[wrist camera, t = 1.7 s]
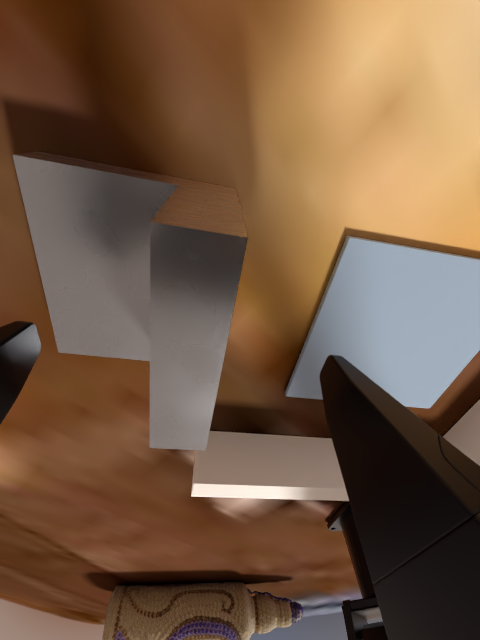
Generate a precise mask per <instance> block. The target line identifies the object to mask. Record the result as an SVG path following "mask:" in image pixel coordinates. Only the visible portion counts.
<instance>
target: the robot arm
mask: <svg viewBox="0 0 480 640" xmlns="http://www.w3.org/2000/svg"><path fill="white" fill-rule="evenodd" d="M40 350H41V343H40V339H39V336H38V332H37V328H36V326H35V324H34V323H32V322H24V321H15V322H13V323H10V324H7V325H5V326H2V327H0V424H1V423H2V421H3V419H4V418H5V416H6V415H7V413H8V412H9V410H10V409H11V407H12V405H13V404H14V402H15V401H16V399H17V397H18V395H19V393H20V392H21V390H22V388H23V386H24V384H25V382H26V380H27V378H28V376H29V374H30V372H31V369H32V367H33V365H34V363H35V361H36V359H37V357H38V355H39V353H40ZM320 385H321V391H322V397H323V403H324V409H325V414H326V420H327V424H328V427H329V431H330V435H331V438H332V442H333V445H334V449H335V452H336V456H337V459H338V463H339V466H340V470H341V474H342V477H343V481H344V484H345V488H346V491H347V495H348V498H349V501H346V503H345V504H344V505H343V506H342V507H341V509H340V510H339V511H338V512H337V513H336V515H335V516H334V517H333V518H332V519H331V521H330V522H329V523H328V524H327V526H328V530H330V531H343V534H344V537H345V540H346V544H347V547H348V551H349V554H350V557H351V561H352V564H353V567H354V571H355V574H356V577H357V581H358V584H359V587H360V591H361V594H362V597H363V599H358V600H353V601H350V600H345V601H343V606H342V610H343V614H344V619H345V625H346V630H347V636H348V640H480V466H479V465H478V464H477V463H475V462H474V461H473V460H471V459H470V458H469V457H467V456H466V455H465V454H464V453H462V452H461V451H460V450H459V449H457V448H456V447H455V446H453V445H452V444H451V443H450V442H448V441H447V440H446V439H445V438H443V437H442V436H441V435H439V434H437V432H436V431H435V430H433V429H432V428H431V427H430V426H428V425H427V424H426V423H425V422H423V421H422V420H421V419H420V418H418V417H417V416H416V415H415V414H413V413H412V412H411V411H410V410H408V409H407V408H406V407H405V406H404V405H402V404H401V403H400V402H399V401H397V400H396V399H395V398H394V397H392V396H391V395H390V394H389V393H387V392H386V391H385V390H384V389H382V388H381V387H380V386H379V385H377V384H376V383H375V382H374V381H372V380H371V379H370V378H369V377H367V376H366V375H365V374H364V373H362V372H361V371H360V370H359V369H357V368H356V367H355V366H354V365H352V364H351V363H350V362H349V361H347V360H346V359H345V358H344V357H342V356H339V355H329V356H328V357H327V359H326V361H325V363H324V365H323V367H322V369H321V372H320ZM376 618H382V619H383V622H377V623H372V624H368V622H367V620H370V619H376Z"/></svg>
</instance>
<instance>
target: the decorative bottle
mask: <svg viewBox="0 0 480 640" xmlns="http://www.w3.org/2000/svg"><path fill="white" fill-rule="evenodd" d="M249 593H250V594H252V592H251V591H250V590H249V589H247V588H246V586H245V584H244V583H242V582H224V583H217V582H216V583H197V584H168V585H167V584H166V585H150V586H143V585H135V586H133V585H131V586H126V585H118V586H117V587H116V588H115V589H114V591H113V593H112V596H111V599H110V603H109V606H108V610H107V614H106V620H105V626H104V633H103V640H249V638H250V637H251V635H252V634H253V633H254V632H255V633H258V634H260V633H268V632H269V631H272V630H273V629H274V628H276V627H288V626H290V625H291V623H296V622H298V621H299V620H300V619H301V618H302V615H303V608H302V606H301V604H299V603H297V602H295V601H294V602H291V600H289V599H287V598H281V597H280V598H277V597H275V596H272V595H271V594H270V593H268V592H264V593H261V592H257V591H254V592H253V593H255V596H253V597H251V596H250V595H249ZM290 602H291V603H290Z"/></svg>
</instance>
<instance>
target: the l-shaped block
mask: <svg viewBox="0 0 480 640" xmlns="http://www.w3.org/2000/svg"><path fill="white" fill-rule="evenodd" d="M443 438H445V439H446V440H447V441H448V442H450V443H451V444H452V445H453V446H455V447H456V448H457V449H459V450H460V451H461V452H462V453H464V454H465V455H466V456H467V457H469V458H470V459H471V460H473V461H474V462H475V463H477V464H478V465H479V466H480V399H479V400H478V401H477V402H476V403H475V404H474V405H473V406H472V407H471V408H470V410H469V411H468V412H467V413H466V414H465V415H464V416H463V417H462V418H461V419H460V420H459V421H458V422H457V423H456V424H455V425H454V426H453V427H452V428H451V429H450V430H449V431H448V432H447V433H446V434H445V435H444V436H443ZM191 497H227V498H262V499H297V500H333V501H349V498H348V495H347V491H346V488H345V484H344V481H343V477H342V474H341V470H340V466H339V463H338V459H337V456H336V452H335V449H334V445H333V442H332V438H316V437H300V436H284V435H268V434H252V433H236V432H220V431H209V436H208V441H207V446H206V451H203V450H195V458H194V470H193V481H192V493H191Z"/></svg>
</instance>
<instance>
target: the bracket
mask: <svg viewBox="0 0 480 640" xmlns="http://www.w3.org/2000/svg"><path fill="white" fill-rule="evenodd" d="M13 159H14V163H15V168H16V172H17V176H18V181H19V185H20V189H21V193H22V198H23V202H24V206H25V211H26V215H27V219H28V223H29V228H30V232H31V236H32V241H33V245H34V249H35V253H36V258H37V262H38V266H39V270H40V275H41V279H42V283H43V288H44V292H45V296H46V300H47V305H48V309H49V313H50V318H51V322H52V326H53V330H54V335H55V339H56V343H57V348H58V352H60V353H70V354H81V355H92V356H102V357H113V358H123V359H134V360H144V361H150V448H164V449H184V450H203V451H206V446H207V441H208V436H209V431H210V426H211V421H212V416H213V411H214V406H215V401H216V396H217V391H218V386H219V380H220V375H221V370H222V365H223V360H224V355H225V350H226V345H227V340H228V335H229V330H230V325H231V320H232V315H233V310H234V305H235V300H236V295H237V289H238V284H239V279H240V274H241V269H242V264H243V259H244V254H245V249H246V244H247V239H248V237H247V233H246V228H245V224H244V220H243V215H242V211H241V207H240V202H239V198H238V194H237V190H236V188H231V187H226V186H220V185H215V184H210V183H205V182H199V181H194V180H189V179H183V178H178V177H173V176H167V175H162V174H157V173H152V172H146V171H141V170H136V169H130V168H125V167H120V166H114V165H109V164H104V163H99V162H93V161H88V160H83V159H77V158H72V157H67V156H61V155H56V154H51V153H46V152H40V151H37V152H29V153H21V154H13Z"/></svg>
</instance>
